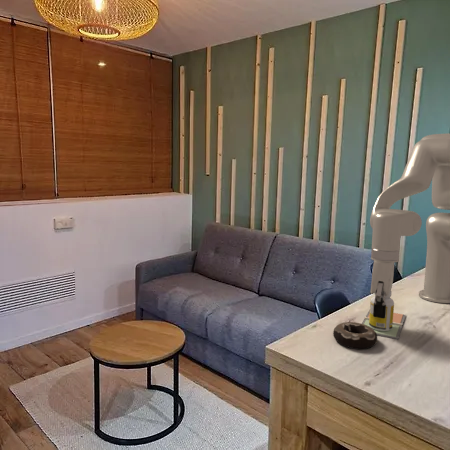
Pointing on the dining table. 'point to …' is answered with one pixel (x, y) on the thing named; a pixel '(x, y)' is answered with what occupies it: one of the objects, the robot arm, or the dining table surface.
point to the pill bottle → (382, 323)
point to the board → (396, 326)
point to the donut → (355, 335)
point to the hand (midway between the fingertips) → (381, 312)
